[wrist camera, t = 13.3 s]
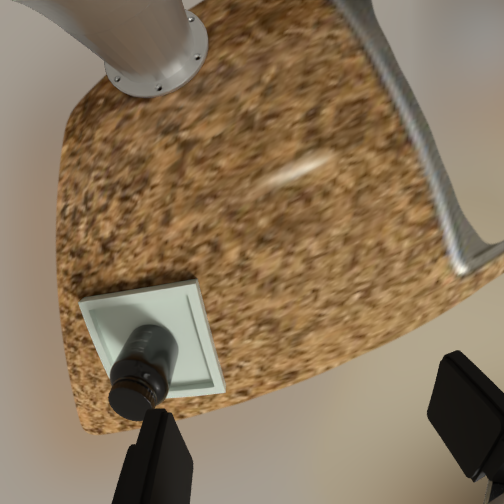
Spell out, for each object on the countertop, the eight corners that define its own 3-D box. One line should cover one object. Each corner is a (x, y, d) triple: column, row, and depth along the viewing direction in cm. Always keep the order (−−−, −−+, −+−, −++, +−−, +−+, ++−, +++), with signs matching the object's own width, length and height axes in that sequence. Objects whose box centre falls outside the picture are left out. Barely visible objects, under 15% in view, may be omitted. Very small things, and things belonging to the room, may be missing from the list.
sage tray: (84, 297, 36) (78, 302, 34) (197, 278, 36) (195, 283, 34) (123, 392, 40) (120, 400, 38) (225, 384, 40) (225, 392, 38)
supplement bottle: (126, 355, 38) (95, 412, 26) (135, 314, 36) (100, 368, 25) (173, 373, 39) (155, 435, 27) (186, 333, 37) (168, 394, 25)
